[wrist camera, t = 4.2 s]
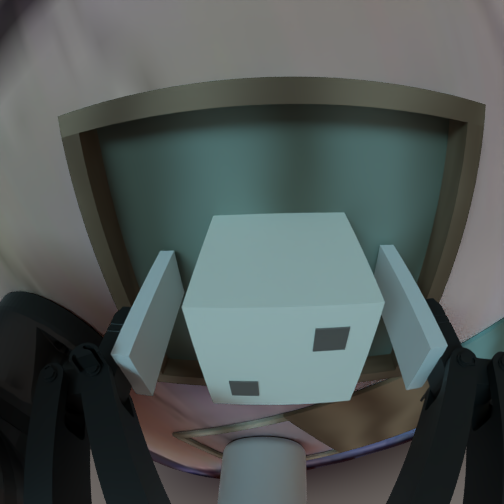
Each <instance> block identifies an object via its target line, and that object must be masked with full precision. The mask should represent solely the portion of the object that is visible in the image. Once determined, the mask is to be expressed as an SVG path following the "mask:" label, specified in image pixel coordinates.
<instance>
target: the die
mask: <svg viewBox="0 0 504 504" xmlns="http://www.w3.org/2000/svg"><path fill="white" fill-rule="evenodd" d="M384 304H385V301H384V299H383V296H382V294H381V291H380V289H379V287H378V284H377V282H376V279H375V277H374V275H373V273H372V270H371V268H370V266H369V263H368V261H367V259H366V257H365V255H364V252H363V250H362V248H361V246H360V244H359V241H358V239H357V237H356V235H355V233H354V231H353V229H352V227H351V225H350V223H349V221H348V219H347V217H346V215H345V213H344V212H333V213H274V214H243V215H218V216H213V218H212V221H211V223H210V226H209V229H208V232H207V234H206V237H205V240H204V243H203V246H202V248H201V251H200V254H199V257H198V260H197V263H196V266H195V269H194V272H193V274H192V277H191V280H190V283H189V286H188V289H187V292H186V295H185V298H184V302H183V305H182V310H183V313H184V317H185V320H186V324H187V327H188V330H189V333H190V337H191V340H192V343H193V346H194V349H195V352H196V355H197V358H198V361H199V364H200V367H201V370H202V373H203V376H204V379H205V382H206V385H207V387H208V390H209V393H210V396H211V398H212V401H213V403H217V404H239V405H290V404H312V403H327V402H338V401H349V400H350V399H351V396H352V394H353V392H354V389H355V387H356V384H357V382H358V379H359V377H360V374H361V372H362V369H363V366H364V364H365V361H366V358H367V356H368V353H369V350H370V347H371V344H372V341H373V338H374V335H375V332H376V329H377V326H378V323H379V320H380V317H381V314H382V310H383V307H384Z"/></svg>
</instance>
